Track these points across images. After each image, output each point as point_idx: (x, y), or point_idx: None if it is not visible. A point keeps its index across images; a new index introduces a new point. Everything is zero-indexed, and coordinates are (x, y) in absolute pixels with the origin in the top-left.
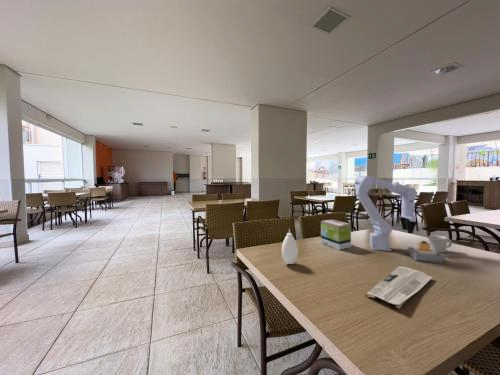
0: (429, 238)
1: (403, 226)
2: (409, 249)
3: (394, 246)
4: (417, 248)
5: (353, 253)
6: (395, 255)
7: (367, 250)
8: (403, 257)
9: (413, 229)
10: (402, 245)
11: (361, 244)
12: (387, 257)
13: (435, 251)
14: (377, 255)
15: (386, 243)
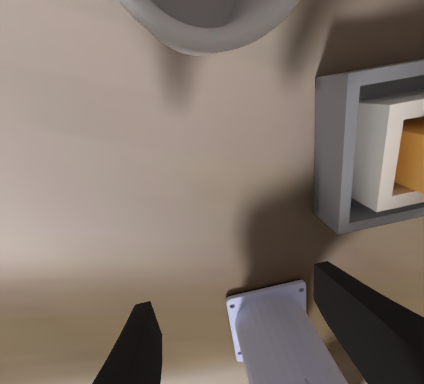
0: (232, 49)
1: (156, 381)
2: (368, 224)
3: (199, 265)
4: (417, 194)
5: (364, 379)
6: (360, 263)
7: None
8: (383, 234)
9: (376, 295)
10: (150, 224)
11: (231, 381)
12: (391, 289)
13: (417, 70)
14: None
15: (317, 332)
